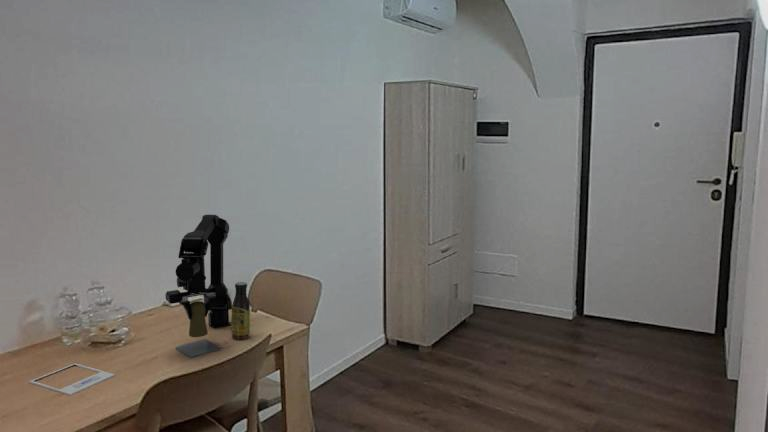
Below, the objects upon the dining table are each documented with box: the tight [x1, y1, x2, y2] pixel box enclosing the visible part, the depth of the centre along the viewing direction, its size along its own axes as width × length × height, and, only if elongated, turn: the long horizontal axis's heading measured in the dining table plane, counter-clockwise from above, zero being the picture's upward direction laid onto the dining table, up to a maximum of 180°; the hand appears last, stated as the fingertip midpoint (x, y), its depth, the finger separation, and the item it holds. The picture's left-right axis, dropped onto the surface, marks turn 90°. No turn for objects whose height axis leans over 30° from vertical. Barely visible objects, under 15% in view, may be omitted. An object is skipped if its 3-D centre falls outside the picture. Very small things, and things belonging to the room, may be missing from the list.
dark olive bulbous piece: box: [188, 300, 209, 338], centre depth 194 cm, size 6×6×11 cm
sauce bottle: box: [231, 281, 251, 340], centre depth 205 cm, size 7×6×20 cm
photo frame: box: [28, 363, 116, 396], centre depth 171 cm, size 15×1×18 cm
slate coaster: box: [175, 338, 223, 359], centre depth 195 cm, size 11×11×1 cm
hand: (197, 318), depth 194 cm, fingers closed on dark olive bulbous piece, 5 cm apart
